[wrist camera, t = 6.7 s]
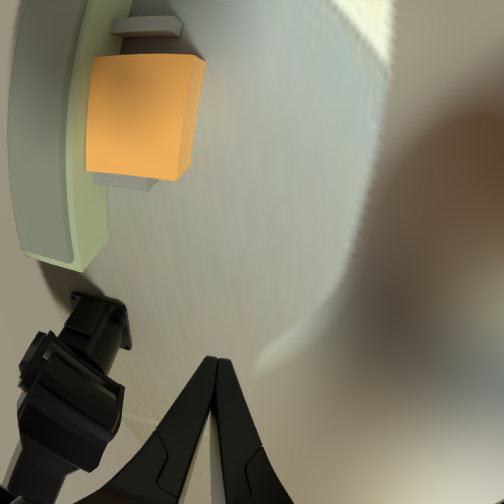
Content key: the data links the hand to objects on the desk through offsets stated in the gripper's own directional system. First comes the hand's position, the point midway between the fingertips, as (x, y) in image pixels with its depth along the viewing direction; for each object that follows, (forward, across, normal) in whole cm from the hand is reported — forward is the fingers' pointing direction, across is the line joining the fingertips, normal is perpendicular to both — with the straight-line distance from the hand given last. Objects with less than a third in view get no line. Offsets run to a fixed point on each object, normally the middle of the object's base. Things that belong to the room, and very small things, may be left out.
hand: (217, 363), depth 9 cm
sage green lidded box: (+12, +11, -7) cm, 18 cm away
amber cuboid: (+12, +7, -6) cm, 15 cm away
